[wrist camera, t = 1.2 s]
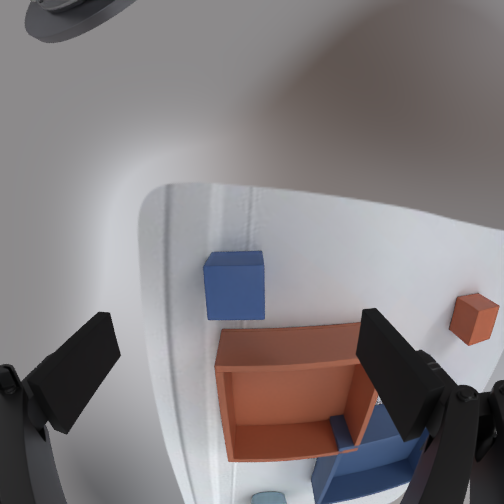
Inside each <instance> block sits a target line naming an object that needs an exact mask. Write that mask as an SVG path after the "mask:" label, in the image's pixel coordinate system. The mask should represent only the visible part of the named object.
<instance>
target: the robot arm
mask: <svg viewBox="0 0 504 504" xmlns="http://www.w3.org/2000/svg"><path fill="white" fill-rule="evenodd" d="M31 1H32V2H36V1H37V2H38V4H39V5H40V7H42V8H43V9H45V10H46V11H47V12H50V13H58V12H63V11H66V10H68V9H71V8H73V7H76V6H78V5H80V4H81V3H83V2H85V1H87V0H31ZM120 356H121V354H120V350H119V347H118V343H117V339H116V336H115V332H114V328H113V323H112V319H111V315H110V313H108V312H98V313H97V314H96V315H94V317H92V318H91V319H90V320H89V321H88V322H87V323H86V324H84V325H83V326H82V327H81V328H80V329H79V330H78V331H77V332H76V333H75V334H74V335H72V336H71V337H70V338H69V339H68V340H67V341H66V342H65V343H64V344H63V345H62V346H61V347H60V348H59V349H58V350H56V351H55V352H54V353H52V354H50V355H49V356H47V357H46V358H45V359H44V360H43V361H42V363H40V364H39V365H38V366H37V368H35V369H34V370H33V371H31V373H29V374H28V375H27V377H25V379H23V380H22V381H20V379H19V377H18V375H17V373H16V371H15V368H14V367H13V366H12V365H9V364H3V365H0V504H67V502H66V499H65V496H64V493H63V490H62V487H61V483H60V480H59V476H58V473H57V469H56V465H55V461H54V457H53V453H52V448H51V444H50V438H49V432H48V429H47V427H46V425H45V424H46V422H47V421H49V422H50V424H51V425H52V427H53V428H54V430H56V431H59V432H61V433H64V434H68V432H69V431H70V429H71V428H72V426H73V425H74V423H75V422H76V420H77V418H78V417H79V415H80V414H81V412H82V411H83V409H84V408H85V406H86V405H87V403H88V402H89V400H90V399H91V398H92V396H93V395H94V393H95V392H96V390H97V389H98V387H99V386H100V384H101V383H102V381H103V380H104V379H105V377H106V376H107V374H108V373H109V371H110V370H111V369H112V367H113V366H114V364H115V363H116V362H117V360H118V359H119V358H120ZM356 356H357V358H358V359H359V361H360V363H361V365H362V366H363V368H364V370H365V372H366V373H367V375H368V377H369V379H370V381H371V382H372V384H373V386H374V388H375V390H376V391H377V393H378V395H379V397H380V399H381V401H382V402H383V404H384V406H385V408H386V410H387V412H388V413H389V415H390V417H391V419H392V421H393V423H394V425H395V427H396V429H397V430H398V432H399V434H400V436H401V438H402V440H403V442H407V441H410V440H413V439H416V438H419V437H420V436H421V434H422V433H423V431H424V429H425V427H426V429H427V430H428V432H429V435H428V437H427V438H426V440H425V442H424V443H423V445H422V447H421V448H420V450H422V449H423V450H422V453H421V456H420V458H419V461H418V464H417V466H416V469H415V471H414V474H413V476H412V479H411V481H410V483H409V486H408V488H407V490H406V492H405V494H404V497H403V499H402V501H401V503H400V504H463V502H464V499H465V495H466V491H467V487H468V483H469V479H470V504H504V380H500V381H497V382H496V383H495V384H494V386H493V388H492V391H491V392H484V393H478V392H477V390H476V389H474V388H473V387H471V386H467V385H457V384H456V383H455V382H454V381H453V380H452V378H451V377H450V376H449V375H448V374H447V373H446V372H445V371H444V370H443V368H441V366H440V365H439V364H438V363H436V361H435V360H434V359H433V358H432V357H431V356H430V355H429V354H427V353H426V352H424V351H422V350H419V351H415V350H414V349H413V348H412V346H411V345H410V344H409V343H408V342H407V341H406V340H405V339H404V338H403V337H402V335H401V334H400V333H399V332H398V331H397V330H396V329H395V328H394V327H393V326H392V325H391V324H390V323H389V321H388V320H387V319H386V318H385V317H384V316H383V315H382V314H381V313H380V312H379V311H378V310H377V309H376V308H372V309H363V310H362V318H361V325H360V331H359V337H358V343H357V349H356ZM496 432H497V434H496Z"/></svg>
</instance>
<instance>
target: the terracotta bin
mask: <svg viewBox="0 0 504 504" xmlns="http://www.w3.org/2000/svg"><path fill="white" fill-rule="evenodd" d="M360 325H361V322H358V323H348V324H336V325H324V326H309V327H290V328H264V329H222V330H221V336H220V341H219V346H218V350H217V356H216V361H215V366H214V367H215V376H216V384H217V391H218V399H219V406H220V413H221V419H222V426H223V433H224V439H225V445H226V451H227V457H228V462H273V461H289V460H300V459H309V458H317V457H325V456H331V455H337V454H338V453H340V452H339V451H338V448H337V444H336V441H335V437H334V434H333V431H332V427H331V424H330V421H329V418H330V416H337V415H344V418H345V421H346V423H347V426H348V429H349V432H350V435H351V437H352V440H353V443H354V446H358V445H360V443H361V440H362V438H363V436H364V433H365V431H366V428H367V425H368V423H369V420H370V417H371V415H372V412H373V409H374V406H375V403H376V400H377V397H378V393H377V391H376V390H375V388H374V386H373V384H372V382H371V381H370V379H369V377H368V375H367V373H366V372H365V370H364V368H363V366H362V365H361V363H360V361H359V359H358V358H357V356H356V349H357V343H358V337H359V331H360ZM357 450H358V448H354V449H349V450H344V451H342V452H343V453H348V452H353V451H357ZM342 452H341V453H342ZM341 453H340V454H341ZM343 453H342V454H343Z"/></svg>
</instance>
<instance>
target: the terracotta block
mask: <svg viewBox="0 0 504 504" xmlns="http://www.w3.org/2000/svg"><path fill="white" fill-rule="evenodd" d="M498 310H499V305H497V304H496V303H494V302H492V301H491V300H489V299H487V298H486V297H484V296H482V295H481V294H479V293H478V294H472V295H466V296H460V297H457V300H456V304H455V309H454V313H453V317H452V321H451V324H450V328H449V330H450V331H452V332H453V333H454V334H455V335H456V336H457V337H459V338H460V339H461V340H462V341H463V342H464V343H466V344H467V345H468V346H470V345H473V344H476V343H479V342H482V341H484V340H487V339H490V336H491V333H492V330H493V327H494V324H495V320H496V317H497V314H498Z"/></svg>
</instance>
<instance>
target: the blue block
mask: <svg viewBox="0 0 504 504" xmlns="http://www.w3.org/2000/svg"><path fill="white" fill-rule="evenodd" d="M203 271H204V284H205V296H206V307H207V317H208V320H264V319H265V283H264V260H263V254H262V251H237V252H212V253H211V254H210V256H209V258H208V259H207V261H206V263H205V264H204V266H203Z"/></svg>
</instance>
